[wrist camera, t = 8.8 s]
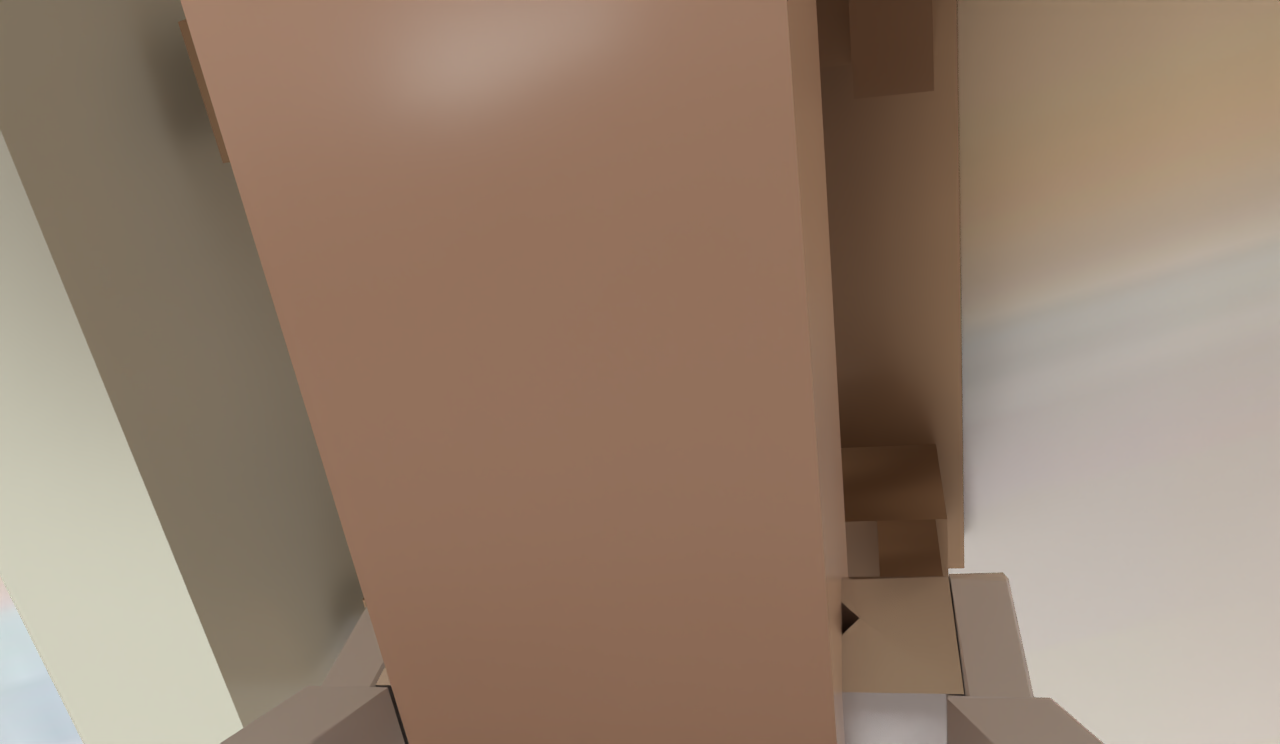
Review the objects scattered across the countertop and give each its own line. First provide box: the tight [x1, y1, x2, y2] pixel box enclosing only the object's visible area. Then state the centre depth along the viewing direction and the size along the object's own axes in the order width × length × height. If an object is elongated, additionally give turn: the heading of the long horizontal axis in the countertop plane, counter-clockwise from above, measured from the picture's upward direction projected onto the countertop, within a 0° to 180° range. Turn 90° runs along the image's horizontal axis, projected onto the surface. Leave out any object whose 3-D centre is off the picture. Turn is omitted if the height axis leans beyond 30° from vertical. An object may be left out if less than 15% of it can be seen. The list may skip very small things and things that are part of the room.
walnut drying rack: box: [178, 0, 964, 608], centre depth 20 cm, size 17×14×6 cm
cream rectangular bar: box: [0, 0, 365, 744], centre depth 18 cm, size 16×3×5 cm, turn 8°
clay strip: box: [180, 0, 848, 744], centre depth 10 cm, size 16×3×5 cm, turn 7°
